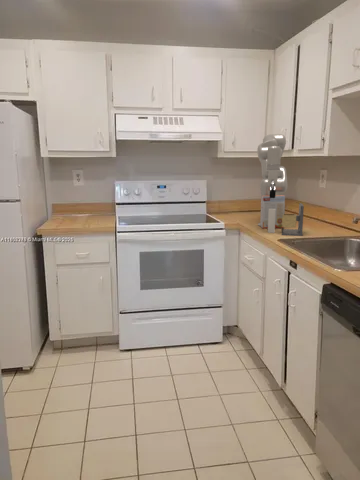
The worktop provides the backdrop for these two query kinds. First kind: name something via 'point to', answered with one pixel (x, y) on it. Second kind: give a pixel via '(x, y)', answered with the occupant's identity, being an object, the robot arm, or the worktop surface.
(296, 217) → the cup bracket
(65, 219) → the worktop surface
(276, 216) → the cracker box
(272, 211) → the rail post
